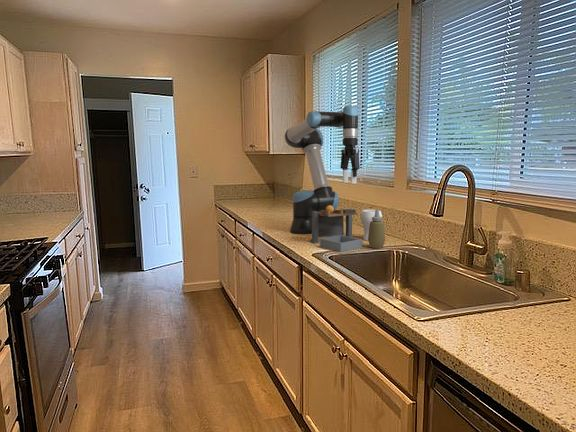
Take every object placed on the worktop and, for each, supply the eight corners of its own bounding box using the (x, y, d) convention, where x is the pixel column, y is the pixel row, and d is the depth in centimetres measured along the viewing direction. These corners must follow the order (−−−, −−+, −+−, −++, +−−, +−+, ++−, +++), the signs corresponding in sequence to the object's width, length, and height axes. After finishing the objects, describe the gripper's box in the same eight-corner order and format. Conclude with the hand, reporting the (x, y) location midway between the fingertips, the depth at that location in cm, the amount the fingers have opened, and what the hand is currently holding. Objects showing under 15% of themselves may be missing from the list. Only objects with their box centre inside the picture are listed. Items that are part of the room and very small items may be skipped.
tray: (320, 246, 200) (320, 238, 199) (341, 243, 208) (341, 235, 208) (340, 252, 189) (340, 243, 188) (362, 247, 197) (362, 239, 197)
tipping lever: (312, 236, 217) (312, 209, 216) (339, 234, 223) (339, 208, 222) (329, 240, 201) (328, 211, 200) (357, 237, 207) (357, 209, 206)
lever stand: (309, 241, 213) (309, 211, 211) (349, 237, 222) (350, 208, 219) (313, 243, 208) (313, 212, 206) (354, 239, 217) (355, 209, 215)
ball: (324, 214, 207) (323, 206, 207) (330, 214, 209) (329, 206, 210) (330, 212, 203) (328, 204, 204) (336, 212, 206) (334, 204, 207)
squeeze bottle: (385, 246, 201) (386, 208, 198) (384, 249, 193) (385, 211, 190) (368, 245, 203) (369, 208, 201) (366, 248, 196) (367, 210, 193)
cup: (381, 241, 210) (382, 212, 208) (360, 241, 212) (360, 211, 210) (381, 237, 220) (382, 209, 218) (360, 237, 223) (361, 209, 220)
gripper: (333, 138, 220) (333, 181, 223) (354, 136, 201) (353, 184, 204) (346, 138, 223) (345, 181, 226) (367, 136, 204) (366, 183, 207)
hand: (349, 182), depth 215 cm, fingers open, 8 cm apart
